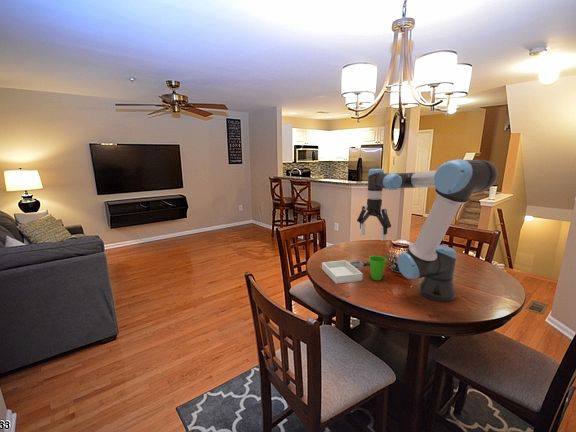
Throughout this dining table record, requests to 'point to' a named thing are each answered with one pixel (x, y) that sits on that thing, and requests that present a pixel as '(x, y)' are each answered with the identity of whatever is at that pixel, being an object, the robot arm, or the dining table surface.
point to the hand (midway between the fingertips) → (372, 237)
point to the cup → (377, 266)
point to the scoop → (358, 264)
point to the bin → (341, 272)
